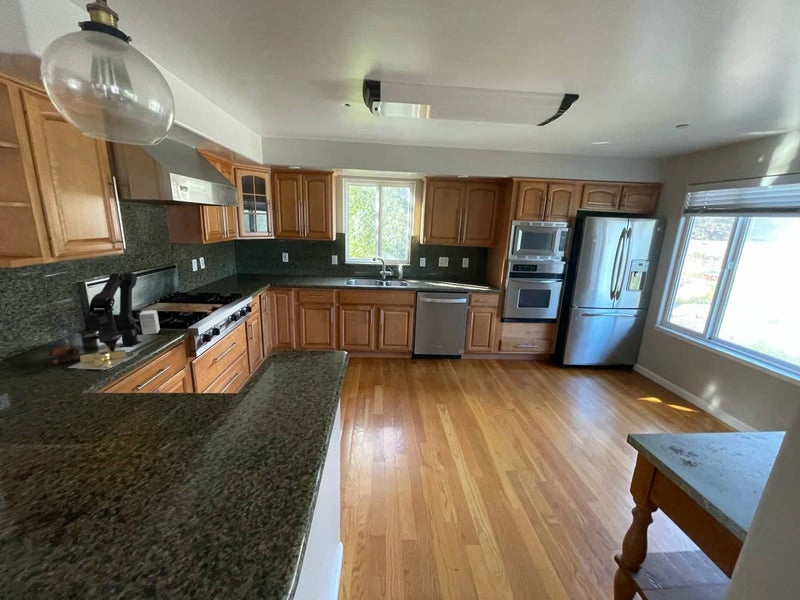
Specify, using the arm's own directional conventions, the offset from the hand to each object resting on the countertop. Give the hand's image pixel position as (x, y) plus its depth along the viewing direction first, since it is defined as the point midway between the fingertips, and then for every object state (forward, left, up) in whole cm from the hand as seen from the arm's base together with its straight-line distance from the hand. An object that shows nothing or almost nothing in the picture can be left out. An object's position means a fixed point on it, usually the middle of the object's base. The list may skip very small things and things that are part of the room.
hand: (113, 352), depth 161 cm
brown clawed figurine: (+4, -20, -3) cm, 20 cm away
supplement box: (-35, -8, -3) cm, 36 cm away
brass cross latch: (+6, 0, -1) cm, 6 cm away
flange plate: (+6, 0, -3) cm, 6 cm away
